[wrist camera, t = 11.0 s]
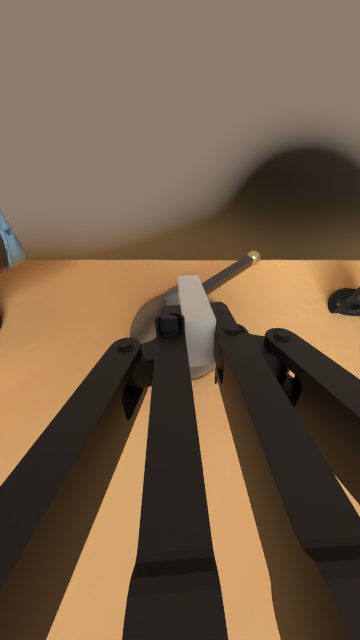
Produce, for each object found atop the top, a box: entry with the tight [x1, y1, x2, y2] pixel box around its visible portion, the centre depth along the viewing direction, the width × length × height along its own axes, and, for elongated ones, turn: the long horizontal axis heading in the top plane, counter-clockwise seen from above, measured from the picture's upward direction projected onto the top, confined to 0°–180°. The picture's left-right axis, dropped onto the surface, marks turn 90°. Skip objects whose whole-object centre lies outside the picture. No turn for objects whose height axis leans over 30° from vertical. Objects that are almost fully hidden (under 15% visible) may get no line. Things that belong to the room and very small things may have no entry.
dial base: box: [130, 294, 216, 380], centre depth 40 cm, size 20×20×4 cm
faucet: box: [155, 251, 260, 332], centre depth 39 cm, size 25×10×9 cm, turn 129°
